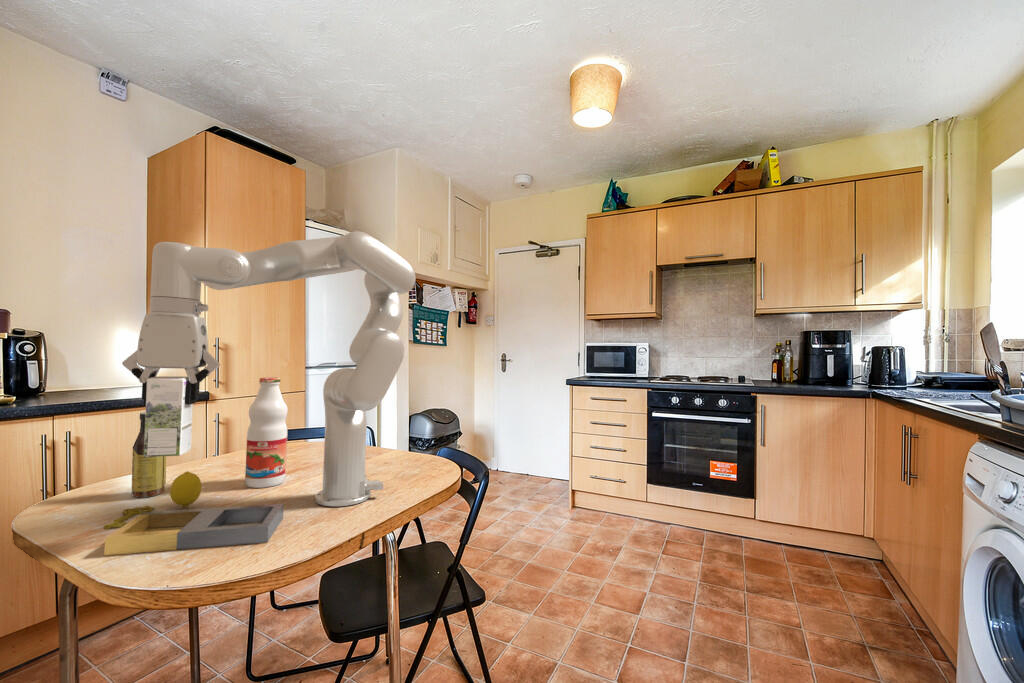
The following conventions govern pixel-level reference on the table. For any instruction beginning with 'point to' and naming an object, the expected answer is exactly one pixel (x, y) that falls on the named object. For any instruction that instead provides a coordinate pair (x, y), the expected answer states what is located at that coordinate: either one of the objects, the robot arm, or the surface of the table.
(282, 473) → the fruit juice
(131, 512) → the key
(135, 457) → the sauce bottle
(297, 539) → the table surface
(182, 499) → the lemon
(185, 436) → the syrup box
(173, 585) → the table surface
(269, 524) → the tray
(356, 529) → the table surface
